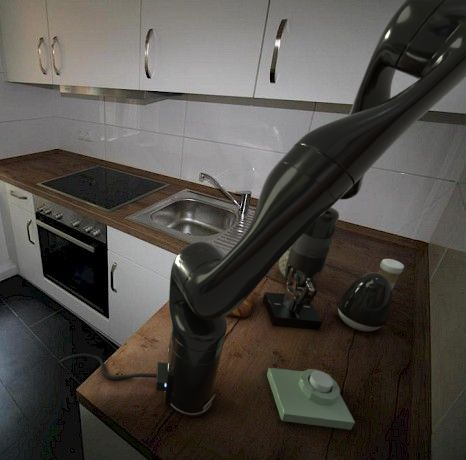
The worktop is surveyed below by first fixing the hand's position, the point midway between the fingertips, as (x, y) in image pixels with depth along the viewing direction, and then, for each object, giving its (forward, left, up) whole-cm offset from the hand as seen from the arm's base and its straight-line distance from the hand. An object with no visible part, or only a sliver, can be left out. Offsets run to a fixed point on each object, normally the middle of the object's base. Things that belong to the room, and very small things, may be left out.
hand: (291, 304), depth 82 cm
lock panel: (0, 0, -3) cm, 3 cm away
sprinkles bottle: (+25, +8, -4) cm, 27 cm away
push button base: (-5, -25, -3) cm, 26 cm away
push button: (-3, -24, 0) cm, 24 cm away
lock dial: (0, 0, 0) cm, 0 cm away
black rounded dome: (+16, -1, -4) cm, 17 cm away
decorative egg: (+7, +16, -4) cm, 18 cm away
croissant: (-14, +2, -4) cm, 14 cm away
